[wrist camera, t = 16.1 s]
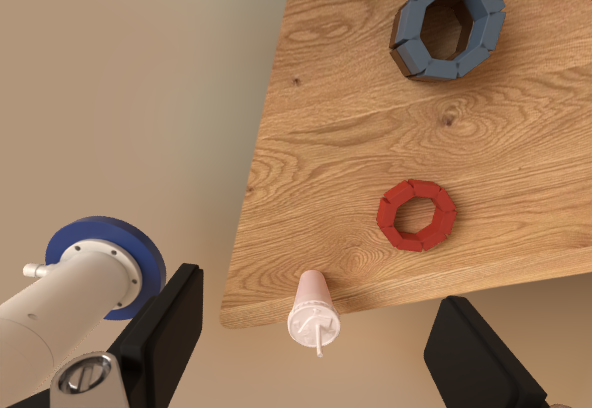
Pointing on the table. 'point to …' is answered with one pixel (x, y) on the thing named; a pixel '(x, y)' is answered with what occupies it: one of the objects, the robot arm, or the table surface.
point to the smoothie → (313, 313)
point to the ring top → (429, 234)
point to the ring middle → (488, 23)
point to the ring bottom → (467, 25)
